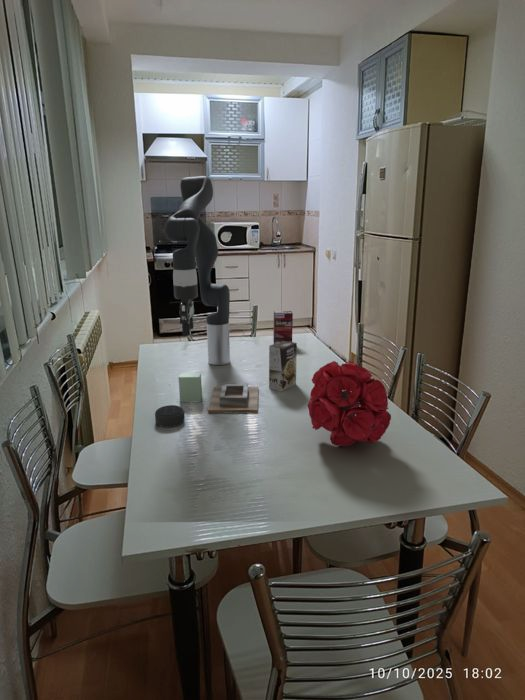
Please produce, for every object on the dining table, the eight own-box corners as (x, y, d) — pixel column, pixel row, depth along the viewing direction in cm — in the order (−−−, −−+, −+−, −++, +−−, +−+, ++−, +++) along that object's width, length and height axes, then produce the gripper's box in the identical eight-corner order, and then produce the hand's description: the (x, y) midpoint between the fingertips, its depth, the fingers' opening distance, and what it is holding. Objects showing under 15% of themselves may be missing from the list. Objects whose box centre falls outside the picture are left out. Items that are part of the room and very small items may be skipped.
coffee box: (282, 391, 169) (283, 348, 164) (268, 387, 173) (268, 345, 168) (297, 384, 176) (297, 342, 171) (282, 380, 180) (282, 339, 175)
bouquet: (293, 448, 144) (325, 445, 115) (289, 371, 149) (318, 350, 120) (360, 446, 148) (407, 442, 119) (354, 371, 153) (397, 350, 124)
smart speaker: (169, 431, 141) (168, 418, 140) (149, 423, 146) (148, 411, 145) (190, 420, 148) (190, 408, 147) (171, 413, 153) (170, 402, 152)
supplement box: (274, 346, 222) (274, 313, 218) (273, 343, 227) (273, 311, 222) (292, 345, 223) (293, 312, 218) (291, 343, 228) (291, 310, 223)
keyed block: (182, 397, 165) (180, 373, 163) (202, 397, 165) (200, 373, 162) (180, 402, 161) (178, 377, 159) (200, 401, 161) (199, 377, 159)
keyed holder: (214, 389, 172) (213, 380, 171) (258, 389, 172) (258, 380, 171) (207, 412, 153) (207, 402, 152) (257, 412, 153) (257, 402, 152)
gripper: (177, 279, 158) (180, 326, 163) (169, 286, 144) (173, 338, 149) (199, 279, 158) (202, 326, 163) (194, 286, 144) (196, 337, 149)
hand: (188, 332), depth 156 cm, fingers open, 8 cm apart
